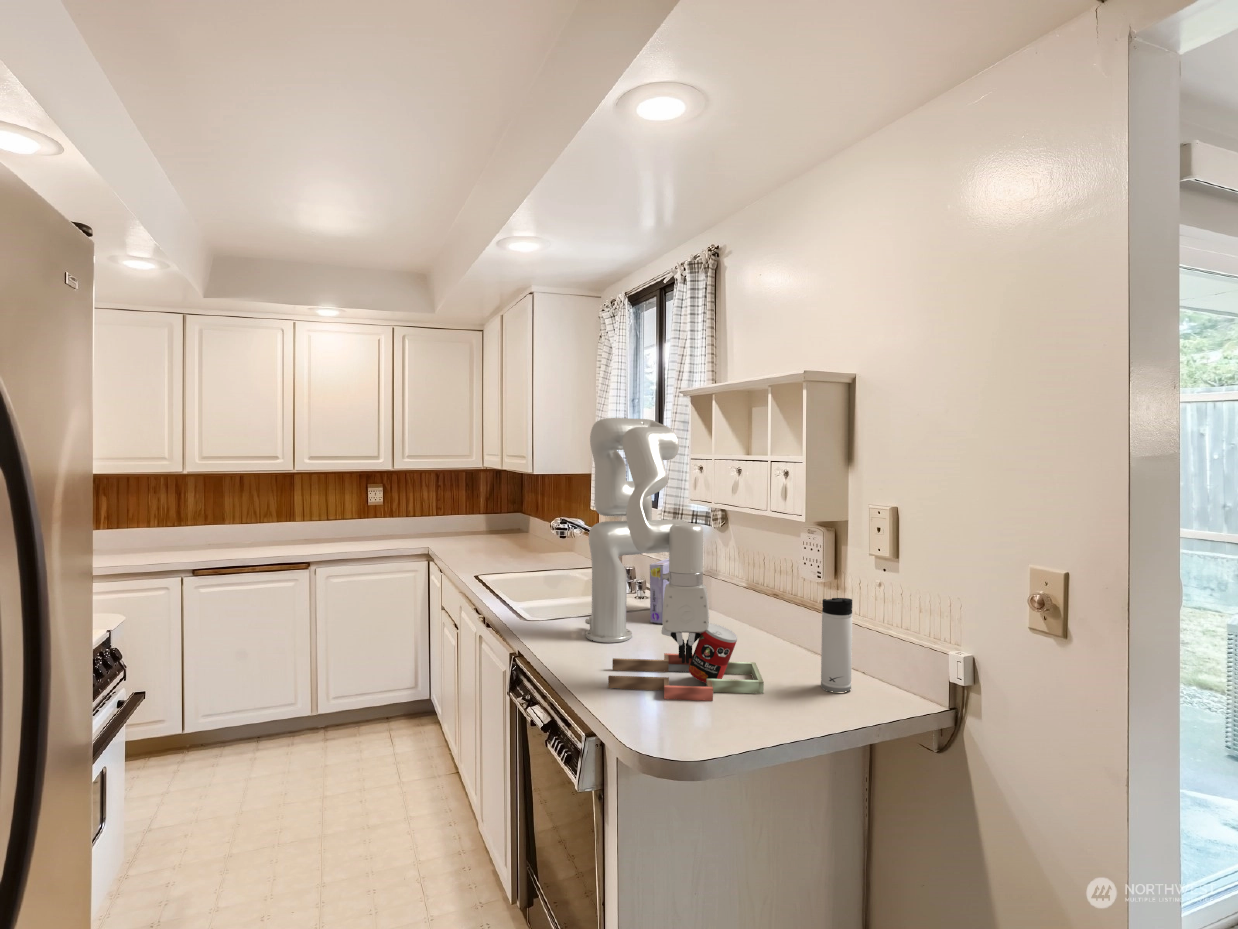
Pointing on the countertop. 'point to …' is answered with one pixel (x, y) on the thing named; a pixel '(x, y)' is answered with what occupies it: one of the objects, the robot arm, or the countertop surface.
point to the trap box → (675, 665)
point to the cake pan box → (657, 589)
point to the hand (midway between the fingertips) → (685, 661)
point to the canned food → (712, 653)
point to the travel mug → (836, 644)
